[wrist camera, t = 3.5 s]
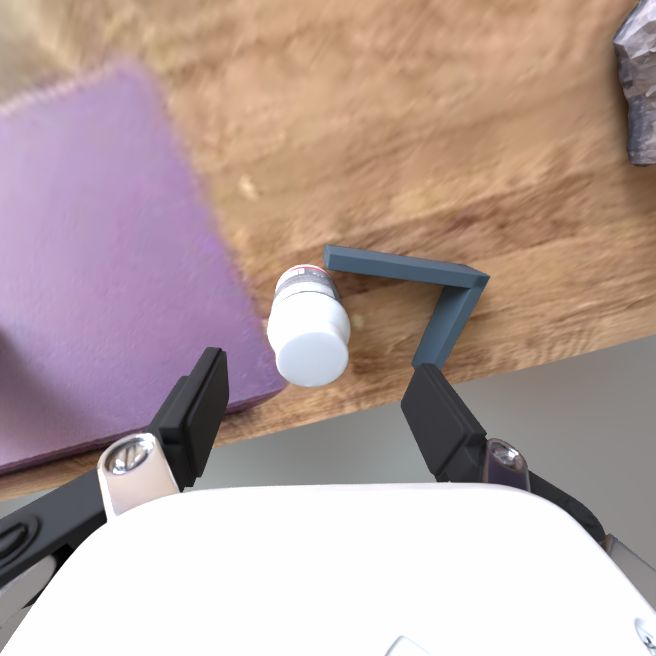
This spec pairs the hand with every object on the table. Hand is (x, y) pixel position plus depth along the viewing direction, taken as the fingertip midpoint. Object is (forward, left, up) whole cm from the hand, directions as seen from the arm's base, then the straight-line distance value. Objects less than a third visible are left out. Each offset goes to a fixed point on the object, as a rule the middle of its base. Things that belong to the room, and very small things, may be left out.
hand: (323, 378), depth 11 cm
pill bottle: (0, 0, -11) cm, 11 cm away
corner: (+8, -2, -11) cm, 14 cm away
